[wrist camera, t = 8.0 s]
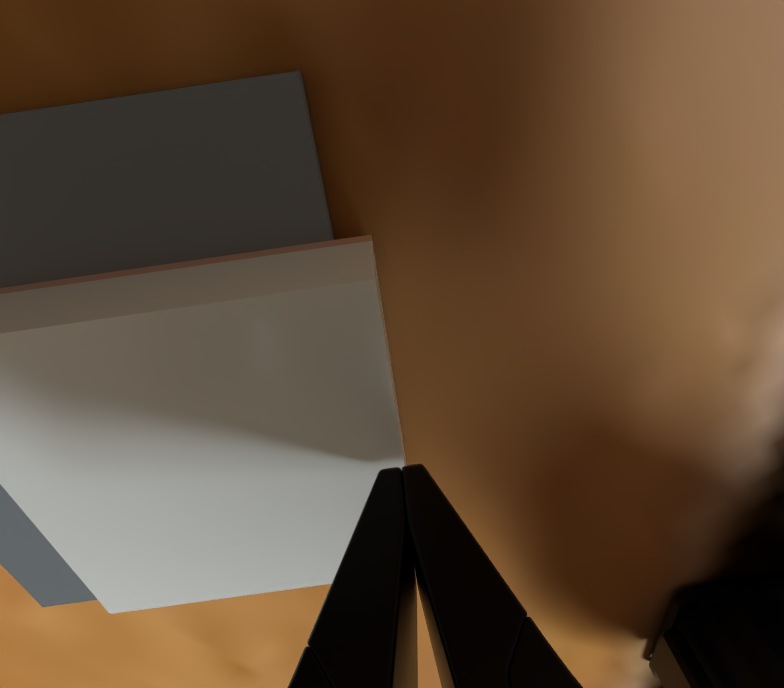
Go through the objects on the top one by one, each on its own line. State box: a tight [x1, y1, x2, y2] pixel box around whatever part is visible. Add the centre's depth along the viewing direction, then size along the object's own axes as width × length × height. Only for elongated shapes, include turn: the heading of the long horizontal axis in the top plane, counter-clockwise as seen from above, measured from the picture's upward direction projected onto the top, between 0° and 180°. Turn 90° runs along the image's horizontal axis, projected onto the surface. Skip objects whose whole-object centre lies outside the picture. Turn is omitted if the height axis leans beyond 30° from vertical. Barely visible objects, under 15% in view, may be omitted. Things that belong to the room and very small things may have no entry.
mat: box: [0, 71, 334, 607], centre depth 12 cm, size 12×14×1 cm
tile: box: [0, 235, 407, 614], centre depth 10 cm, size 2×8×8 cm
